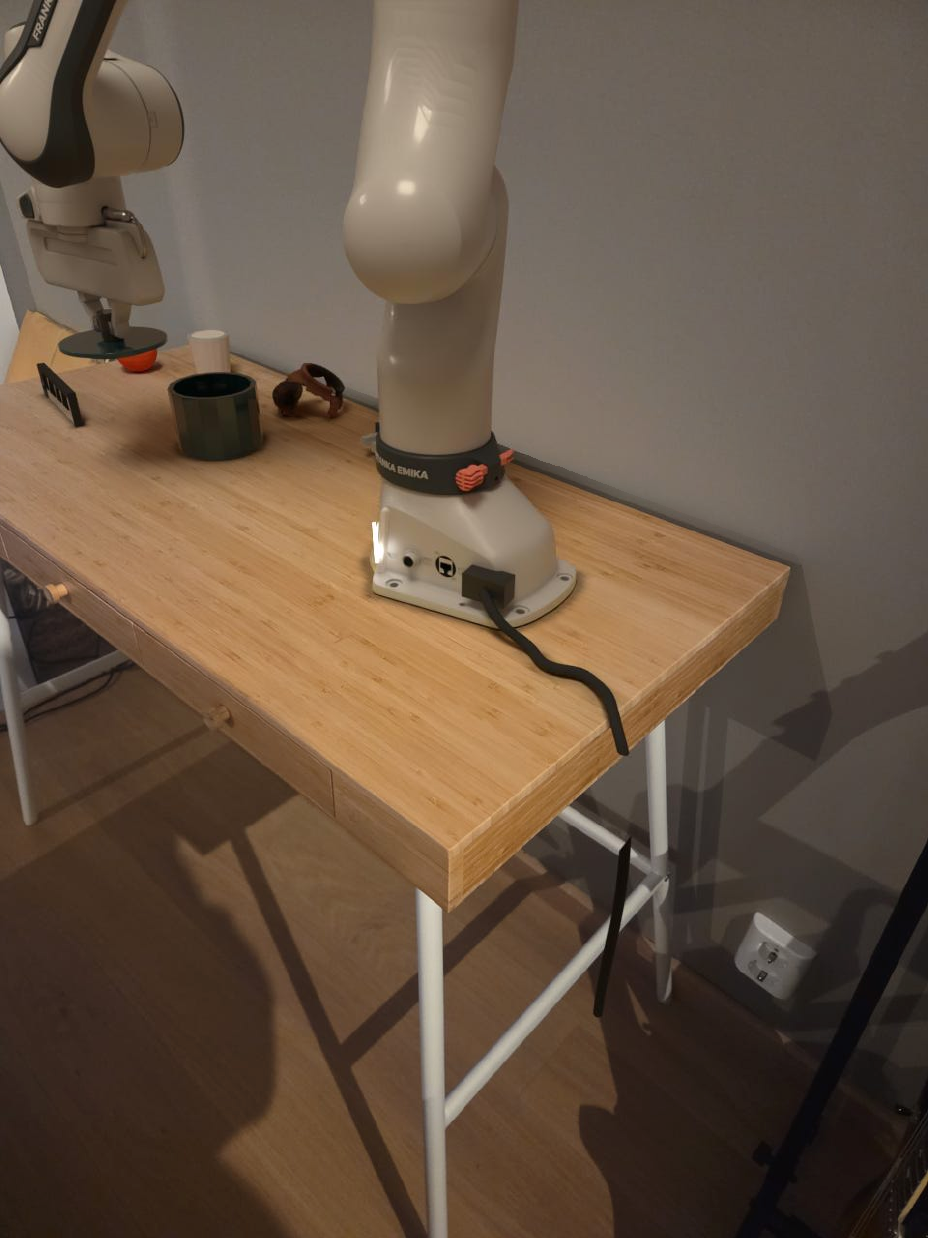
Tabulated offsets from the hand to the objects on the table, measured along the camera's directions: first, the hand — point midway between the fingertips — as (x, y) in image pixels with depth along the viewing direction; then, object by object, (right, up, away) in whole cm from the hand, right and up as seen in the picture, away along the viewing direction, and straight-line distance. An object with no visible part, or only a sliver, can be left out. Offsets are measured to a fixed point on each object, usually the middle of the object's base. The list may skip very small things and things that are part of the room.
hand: (112, 333), depth 98 cm
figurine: (+35, -10, +18) cm, 40 cm away
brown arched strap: (+17, -2, +29) cm, 34 cm away
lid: (0, -1, +1) cm, 1 cm away
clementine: (-15, +9, +46) cm, 49 cm away
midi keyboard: (-20, -2, +30) cm, 36 cm away
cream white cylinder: (-1, +8, +44) cm, 45 cm away
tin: (+8, -9, +19) cm, 22 cm away
